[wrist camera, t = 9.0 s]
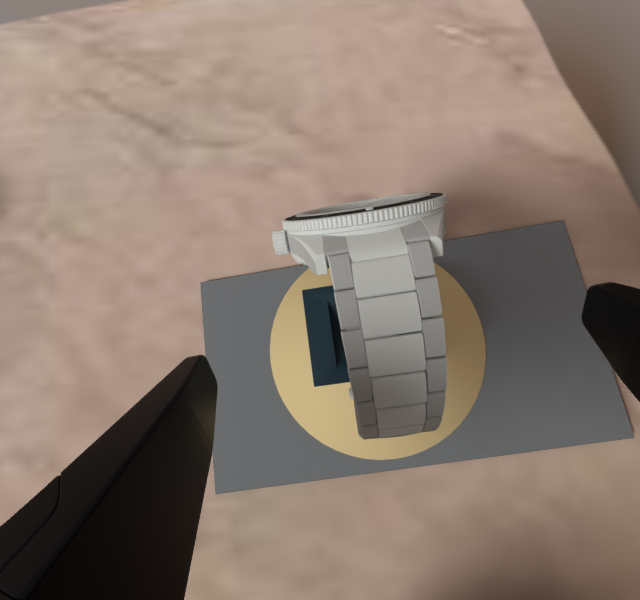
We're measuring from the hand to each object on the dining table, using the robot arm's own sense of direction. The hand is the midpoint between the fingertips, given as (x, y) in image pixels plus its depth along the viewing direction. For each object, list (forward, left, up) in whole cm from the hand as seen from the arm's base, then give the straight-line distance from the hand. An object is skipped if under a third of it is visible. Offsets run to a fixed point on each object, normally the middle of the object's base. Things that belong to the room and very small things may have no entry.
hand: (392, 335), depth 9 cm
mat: (0, -1, -11) cm, 11 cm away
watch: (+1, 0, -10) cm, 11 cm away
